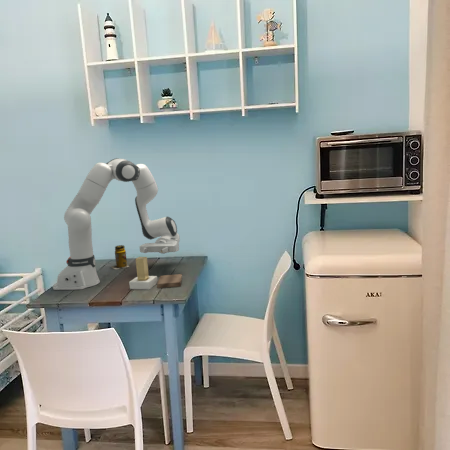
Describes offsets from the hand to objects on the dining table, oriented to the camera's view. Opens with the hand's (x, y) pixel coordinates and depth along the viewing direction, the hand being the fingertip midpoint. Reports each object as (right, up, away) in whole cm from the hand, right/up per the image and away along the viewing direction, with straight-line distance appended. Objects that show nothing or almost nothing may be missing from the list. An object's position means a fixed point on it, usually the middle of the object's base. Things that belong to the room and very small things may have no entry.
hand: (153, 251), depth 237 cm
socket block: (-3, -16, -11) cm, 19 cm away
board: (+10, -15, -8) cm, 20 cm away
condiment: (-23, -11, +29) cm, 39 cm away
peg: (-3, -16, -11) cm, 19 cm away
